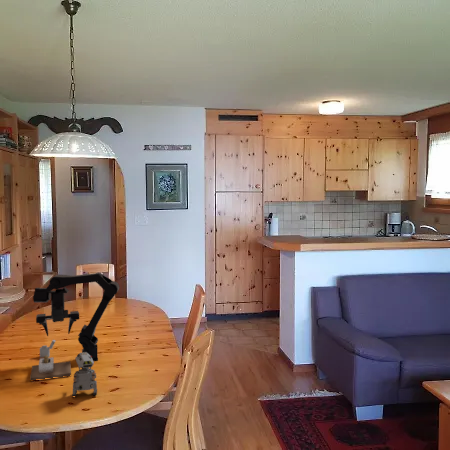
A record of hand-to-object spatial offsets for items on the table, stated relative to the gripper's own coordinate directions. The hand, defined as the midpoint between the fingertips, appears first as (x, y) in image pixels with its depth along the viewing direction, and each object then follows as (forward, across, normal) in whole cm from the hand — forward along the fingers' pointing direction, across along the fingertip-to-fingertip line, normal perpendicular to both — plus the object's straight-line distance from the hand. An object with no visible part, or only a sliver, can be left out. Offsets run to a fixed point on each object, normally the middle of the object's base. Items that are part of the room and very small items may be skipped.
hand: (58, 334), depth 204 cm
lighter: (+12, -5, +6) cm, 15 cm away
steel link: (+10, -5, -15) cm, 19 cm away
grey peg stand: (+12, -3, -15) cm, 19 cm away
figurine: (+12, +9, -40) cm, 43 cm away
